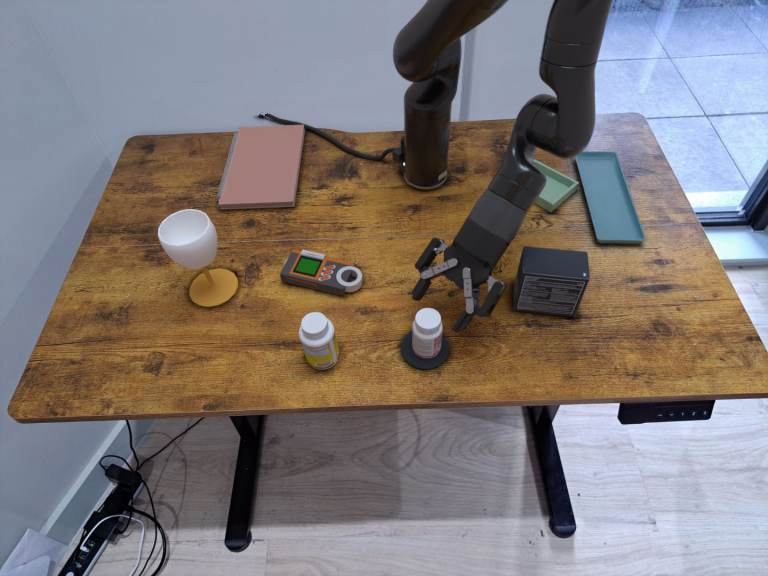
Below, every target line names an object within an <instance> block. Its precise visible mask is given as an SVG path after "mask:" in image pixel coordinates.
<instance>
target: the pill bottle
mask: <svg viewBox="0 0 768 576" xmlns="http://www.w3.org/2000/svg"><path fill="white" fill-rule="evenodd" d="M443 327H444V326H443V322H442V316H441V314H440V313H439V311H438V310H437V309H434V308H431V307H423V308H422V309H419V310H418V311H417V312H416V314H415V317H414V321H413V322H412V330H413V337H412V348H413V351H414V352H415V354H416V355H418V356H419V357H422V358H432V357H435V356H436V355H437V354H438V353H439V351H440V349H441V341H442V334H443V329H444V328H443Z"/></svg>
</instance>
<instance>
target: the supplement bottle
mask: <svg viewBox="0 0 768 576" xmlns="http://www.w3.org/2000/svg"><path fill="white" fill-rule="evenodd" d="M298 338H299V341H300V343H301V347H302V349H303V352H304V356H305V359H306V361H307V363H308V365H309V366H310V367H312V368H313V369H316V370H318V371H319V370H321V371H322V370H328V369H330V368H333V366H334V365H336V364H337V362H338V361H339V358H340V348H339V343H338V338H337V335H336V330H335V327H334V323H333V322H332V321H331V320H330V319H329V318H328V317H326V316H325V314H323V313H322V312H318V311H312V312H309V313H307V314H305V315H304V316H303V318H302V319H301V322H300V326H299V328H298Z"/></svg>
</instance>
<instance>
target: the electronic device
mask: <svg viewBox="0 0 768 576" xmlns="http://www.w3.org/2000/svg"><path fill="white" fill-rule="evenodd" d="M279 276H280V281H281V282H282V283H287V284H290V285H294V286H299V287H303V288H307V289H312V290H315V291H320V292H325V293H327V294H333V295H337V296H340V297H345V295H346V293H354V292H357V291H358V290H359V289H360V288H362V285H363V274H362V271H361V270H360V269H359V268H358V267H356V263H355V262H352V261H347V260H342V259H338V258H334V257H329V256H327V255H326V253H325V254H324V253H319V252H315V251H311V250H306V249H302V250H299V249H295V248H293V249H292V250H291V251H290V254H289V255H288V258H286V259H285V261H284V263H283V267H282V269H281V271H280V272H279ZM353 277H354V278H356V279H354V280H353V281H352V278H353Z"/></svg>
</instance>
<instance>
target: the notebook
mask: <svg viewBox="0 0 768 576" xmlns="http://www.w3.org/2000/svg"><path fill="white" fill-rule="evenodd" d="M305 132H306V128H304V125H290V124H286V125H264V126H263V125H261V126H260V125H259V126H239V127H238V130H237V132H235V133H233V137H232V139H231V144H230V148H229V151H228V155H227V158H226V162H225V166H224V169H223V172H222V175H221V180H220V183H219V187H218V189H217V194H216V196H215V197H216V198H215V199H216V200H217V202H218V204H217V205H218V206H219V210H222V211H223V210H224V211H225V210H244V209H245V210H247V209H273V208H274V209H275V208H295V207H296V200H297V199H296V198H297V191H298V184H299V177H300V169H301V164H302V163H301V162H302V155H303V148H304V140H305V134H306V133H305Z"/></svg>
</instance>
